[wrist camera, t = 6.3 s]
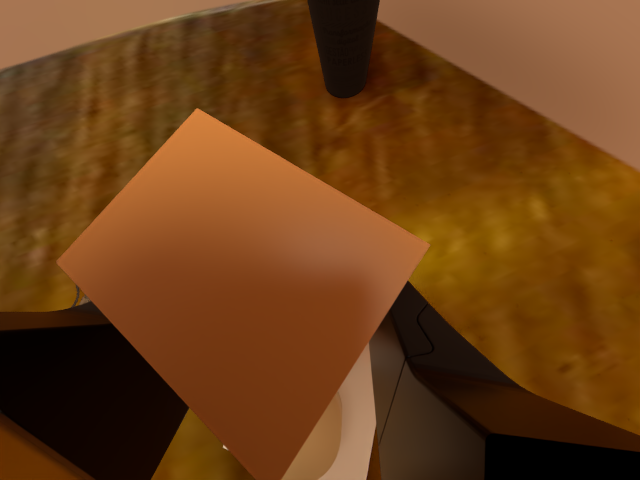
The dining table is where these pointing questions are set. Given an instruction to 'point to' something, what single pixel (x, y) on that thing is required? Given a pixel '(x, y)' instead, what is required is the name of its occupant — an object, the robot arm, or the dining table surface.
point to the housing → (341, 432)
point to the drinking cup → (344, 42)
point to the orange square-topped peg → (242, 285)
